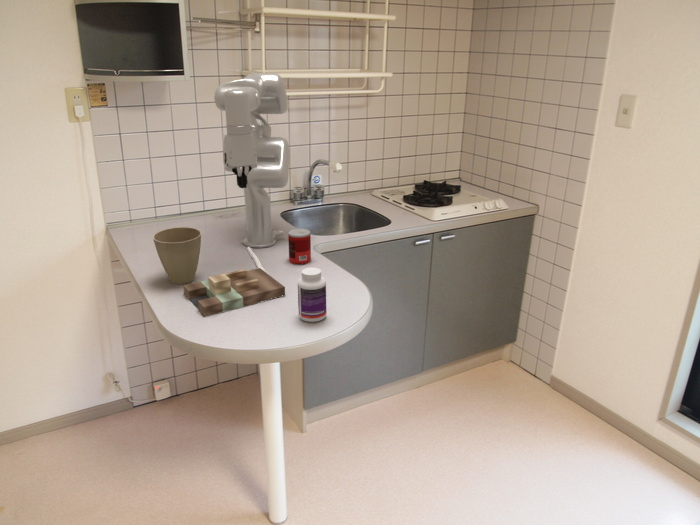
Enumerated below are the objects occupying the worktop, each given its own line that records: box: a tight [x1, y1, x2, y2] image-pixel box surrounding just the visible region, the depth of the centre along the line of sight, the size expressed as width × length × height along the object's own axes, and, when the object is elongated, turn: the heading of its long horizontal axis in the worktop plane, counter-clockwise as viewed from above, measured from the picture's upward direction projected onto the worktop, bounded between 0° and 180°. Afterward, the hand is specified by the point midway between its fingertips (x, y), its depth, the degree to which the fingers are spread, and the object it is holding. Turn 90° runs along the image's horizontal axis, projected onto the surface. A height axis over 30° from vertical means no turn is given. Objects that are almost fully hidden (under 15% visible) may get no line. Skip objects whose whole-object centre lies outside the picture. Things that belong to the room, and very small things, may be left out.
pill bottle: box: [297, 267, 327, 323], centre depth 162 cm, size 8×8×14 cm
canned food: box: [287, 228, 312, 265], centre depth 203 cm, size 8×8×11 cm
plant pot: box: [152, 226, 202, 285], centre depth 185 cm, size 15×15×16 cm
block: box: [207, 273, 231, 295], centre depth 173 cm, size 5×5×4 cm
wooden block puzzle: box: [182, 268, 286, 317], centre depth 177 cm, size 26×18×6 cm
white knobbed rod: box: [246, 246, 267, 273], centre depth 204 cm, size 28×4×3 cm, turn 21°
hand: (242, 187), depth 186 cm, fingers closed
